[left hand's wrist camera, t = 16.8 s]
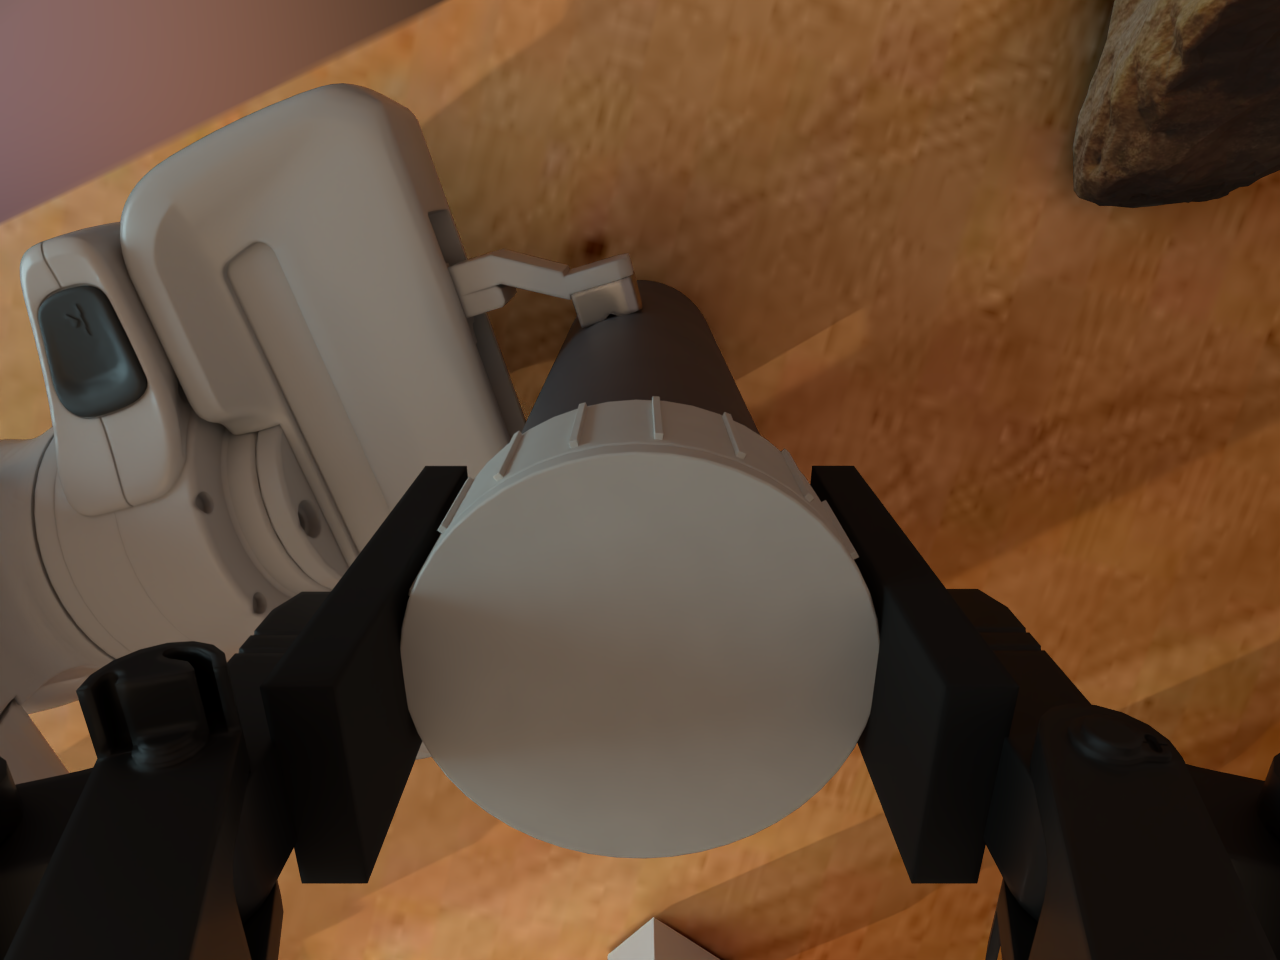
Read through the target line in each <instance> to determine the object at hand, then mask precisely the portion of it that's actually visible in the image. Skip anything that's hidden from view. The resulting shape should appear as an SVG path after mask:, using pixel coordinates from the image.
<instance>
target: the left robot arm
mask: <svg viewBox="0 0 1280 960" xmlns="http://www.w3.org/2000/svg"><path fill="white" fill-rule="evenodd" d="M467 479H468V473H467V466H425V467H424V468H423V470H422V471H421V472H420V474H419V475H418V476H417V478H416V479H415V480H414V482H413V483H412V484H411V486H410V487H409V488H408V490H407V491H406V492H405V494H404V495H403V496H402V498H401V499H400V500H399V502H398V503H397V504H396V506H395V507H394V508H393V510H392V511H391V512H390V514H389V515H388V516H387V518H386V519H385V520H384V522H383V523H382V524H381V526H380V527H379V528H378V530H377V531H376V532H375V534H374V535H373V536H372V538H371V539H370V540H369V542H368V543H367V544H366V546H365V547H364V548H363V550H362V551H361V552H360V554H359V555H358V556H357V558H356V559H355V560H354V562H353V563H352V564H351V566H350V567H349V568H348V570H347V571H346V572H345V574H344V575H343V576H342V578H341V579H340V580H339V582H338V583H337V584H336V586H335V587H334V588H333V590H332V591H331V592H300V593H299V594H297V595H295V596H294V597H292V598H291V599H289V600H287V601H286V602H284V603H282V604H281V605H279V606H278V607H276V608H274V609H273V610H272V611H271V612H270V613H269V614H268V615H267V617H266V618H265V619H264V620H263V621H262V622H261V624H260V625H259V626H258V627H257V628H256V629H255V631H254V635H250V636H249V638H248V639H247V640H246V641H245V642H244V643H243V645H242V646H241V647H240V648H239V653H235V654H234V655H233V656H232V657H231V659H230V660H229V661H228V662H227V661H226V656H225V653H224V652H223V651H221V650H220V649H219V648H217V647H216V646H215V645H213V644H207V643H202V642H196V641H186V642H170V643H165V644H160V645H156V646H152V647H148V648H144V649H140V650H137V651H135V652H132V653H130V654H128V655H125V656H123V657H120V658H118V659H115V660H113V661H111V662H110V663H108V664H107V665H105V666H103V667H102V668H100V669H99V670H97V671H96V672H94V673H92V674H91V675H90V676H89V677H88V678H87V679H86V680H85V681H84V682H83V683H82V684H81V686H80V687H79V688H78V689H77V690H76V693H77V696H78V699H79V702H80V705H81V708H82V712H83V715H84V718H85V721H86V724H87V727H88V730H89V733H90V736H91V740H92V743H93V746H94V749H95V752H96V755H97V758H98V759H97V761H96V763H95V765H94V767H93V768H90V769H86V770H82V771H78V772H73V773H68V774H63V775H59V776H54V777H49V778H44V779H39V780H35V781H30V782H25V783H20V784H16V785H15V783H14V780H13V778H12V775H11V772H10V770H9V767H8V764H7V762H6V760H5V759H3V758H2V757H0V960H278V954H279V946H280V937H281V928H282V920H283V906H282V899H281V894H280V889H279V885H278V881H277V879H278V877H279V875H280V873H281V871H282V869H283V867H284V865H285V863H286V861H287V859H288V858H289V856H290V854H291V852H292V850H293V848H294V849H295V854H296V858H297V863H298V867H299V872H300V877H301V881H302V883H368V881H369V878H370V875H371V873H372V870H373V868H374V865H375V863H376V860H377V857H378V855H379V852H380V850H381V847H382V844H383V842H384V839H385V837H386V834H387V832H388V829H389V826H390V824H391V821H392V819H393V816H394V813H395V811H396V808H397V806H398V803H399V801H400V798H401V795H402V793H403V790H404V788H405V785H406V782H407V780H408V777H409V775H410V772H411V769H412V767H413V764H414V762H415V759H416V757H417V754H418V751H419V749H420V746H421V744H422V739H421V738H420V736H419V734H418V732H417V730H416V727H415V725H414V722H413V720H412V717H411V715H410V712H409V710H408V704H407V697H406V691H405V684H404V676H403V668H402V660H401V651H400V640H401V627H402V623H403V619H404V615H405V611H406V607H407V602H408V599H409V597H410V596H408V593H409V589H410V587H411V586H412V584H413V582H414V580H415V578H416V577H417V575H418V573H419V571H420V570H421V568H422V566H423V564H424V563H425V561H426V559H427V557H428V555H429V554H430V552H431V550H432V548H433V547H434V545H435V543H436V541H437V539H438V538H439V536H440V534H442V533H440V532H439V531H438V528H439V527H440V525H441V523H442V521H443V520H444V518H445V516H446V514H447V513H448V511H449V509H450V508H451V506H452V504H453V502H454V501H455V499H456V497H457V495H458V494H459V492H460V490H461V488H462V487H463V485H464V483H465V482H466V480H467ZM811 487H812V488H813V490H814V491H815V493H816V494H817V496H818V498H819V499H820V501H821V502H823V501H825V500H826V501H827V503H828V504H829V506H830V508H831V509H832V511H833V513H834V515H835V516H836V518H837V520H838V521H839V523H840V525H841V526H842V528H843V530H844V532H845V533H846V535H847V537H848V538H849V540H850V542H851V543H852V545H853V547H854V549H855V550H856V552H857V554H858V556H859V558H857V559H854V561H855V563H856V564H857V566H858V568H859V570H860V572H861V575H862V577H863V579H864V581H865V583H866V585H867V588H868V590H869V592H870V595H871V598H872V602H873V605H874V609H875V612H876V616H877V619H878V627H879V635H880V643H879V653H878V660H877V668H876V676H875V683H874V691H873V698H872V705H871V711H870V715H869V718H868V721H867V724H866V726H865V728H864V730H863V732H862V734H861V736H860V738H859V740H858V742H857V743H858V746H859V748H860V751H861V754H862V756H863V759H864V761H865V764H866V766H867V769H868V772H869V774H870V777H871V779H872V782H873V785H874V787H875V790H876V792H877V795H878V797H879V800H880V803H881V805H882V808H883V810H884V813H885V816H886V818H887V821H888V823H889V826H890V828H891V831H892V834H893V836H894V839H895V841H896V844H897V847H898V849H899V852H900V854H901V857H902V859H903V862H904V865H905V867H906V870H907V872H908V875H909V878H910V880H911V883H977V882H978V877H979V873H980V868H981V863H982V859H983V854H984V850H985V845H986V846H987V848H988V849H989V851H990V853H991V855H992V857H993V859H994V861H995V863H996V865H997V867H998V869H999V871H1000V872H1001V874H1002V876H1003V881H1002V885H1001V889H1000V894H999V898H998V902H997V907H996V911H995V915H994V920H993V924H992V928H991V933H990V937H989V941H988V947H987V953H986V959H985V960H997V957H998V953H999V949H1000V946H1001V952H1002V960H1280V753H1279V754H1278V755H1276V756H1275V757H1274V758H1273V761H1272V764H1271V766H1270V769H1269V772H1268V774H1267V777H1266V780H1265V781H1262V780H1257V779H1252V778H1247V777H1243V776H1238V775H1233V774H1228V773H1223V772H1219V771H1214V770H1209V769H1204V768H1199V767H1195V766H1192V765H1188V764H1185V762H1184V760H1183V758H1182V756H1181V755H1180V754H1179V752H1178V751H1177V750H1176V748H1175V747H1174V746H1173V744H1172V743H1171V742H1170V741H1169V740H1168V739H1167V738H1165V737H1164V736H1163V735H1161V734H1160V733H1159V732H1157V731H1156V730H1155V729H1153V728H1152V727H1151V726H1149V725H1148V724H1146V723H1143V722H1141V721H1139V720H1137V719H1135V718H1133V717H1131V716H1129V715H1126V714H1124V713H1122V712H1119V711H1115V710H1111V709H1108V708H1104V707H1100V706H1097V705H1091V704H1090V702H1089V701H1088V700H1087V699H1086V698H1085V697H1084V696H1083V694H1082V693H1081V692H1080V691H1079V690H1078V689H1077V687H1076V686H1075V685H1074V684H1073V683H1072V682H1071V680H1070V679H1069V678H1068V677H1067V676H1066V675H1065V673H1064V672H1063V671H1062V670H1061V669H1060V668H1059V667H1058V665H1057V664H1056V663H1055V662H1054V661H1053V660H1052V658H1051V657H1050V656H1049V655H1048V654H1047V653H1046V651H1041V646H1040V644H1039V643H1038V642H1037V641H1036V640H1035V639H1034V638H1033V636H1032V635H1031V634H1030V633H1026V628H1025V627H1024V626H1023V625H1022V624H1021V622H1020V621H1019V620H1018V619H1017V618H1016V617H1015V616H1014V614H1013V613H1012V612H1011V611H1010V610H1009V609H1008V607H1006V606H1005V605H1003V604H1001V603H1000V602H998V601H996V600H995V599H993V598H991V597H990V596H988V595H987V594H985V593H983V592H982V591H980V590H978V589H946V588H945V587H944V585H943V584H942V583H941V581H940V580H939V579H938V577H937V576H936V575H935V573H934V572H933V571H932V569H931V568H930V567H929V565H928V564H927V563H926V561H925V560H924V559H923V557H922V556H921V555H920V553H919V552H918V551H917V549H916V548H915V547H914V545H913V544H912V543H911V541H910V540H909V539H908V537H907V536H906V535H905V534H904V532H903V531H902V530H901V528H900V527H899V526H898V524H897V523H896V522H895V520H894V519H893V518H892V516H891V515H890V514H889V512H888V511H887V510H886V508H885V507H884V506H883V504H882V503H881V502H880V500H879V499H878V498H877V496H876V495H875V494H874V492H873V491H872V490H871V488H870V487H869V486H868V484H867V483H866V482H865V480H864V479H863V478H862V476H861V475H860V474H859V472H858V471H857V470H856V468H855V467H854V466H812V474H811Z"/></svg>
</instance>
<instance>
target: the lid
mask: <svg viewBox="0 0 1280 960" xmlns="http://www.w3.org/2000/svg"><path fill="white" fill-rule="evenodd" d="M438 531H439V532H440V533H442V534H440V536H439V538H438V539H437V541H436V543H435V545H434V547H433V548H432V550H431V552H430V554H429V555H428V557H427V559H426V561H425V563H424V564H423V566H422V568H421V570H420V571H419V573H418V575H417V577H416V578H415V580H414V582H413V584H412V586H411V587H410V589H409V593H408V596H410V597H409V599H408V602H407V607H406V611H405V615H404V619H403V623H402V627H401V640H400V651H401V660H402V668H403V676H404V684H405V691H406V697H407V704H408V710H409V712H410V715H411V717H412V720H413V722H414V725H415V727H416V730H417V732H418V734H419V736H420V738H421V739H422V741H423V743H424V745H425V746H426V748H427V750H428V752H429V753H430V755H431V756H432V758H433V759H434V760H435V762H436V763H437V764H438V765H439V767H440V768H441V769H442V771H443V772H444V773H445V775H446V776H447V777H448V778H449V779H450V780H451V781H452V782H453V783H454V784H455V785H456V786H457V787H458V788H459V789H460V790H461V791H462V792H463V793H464V794H465V795H466V796H467V797H469V798H470V799H471V800H472V801H474V802H475V803H476V804H477V805H479V806H480V807H481V808H483V809H484V810H485V811H486V812H488V813H489V814H491V815H493V816H494V817H496V818H498V819H499V820H501V821H502V822H504V823H506V824H507V825H509V826H511V827H513V828H515V829H517V830H519V831H521V832H523V833H525V834H528V835H530V836H532V837H534V838H536V839H539V840H542V841H545V842H548V843H551V844H554V845H556V846H559V847H563V848H567V849H571V850H575V851H579V852H584V853H588V854H595V855H602V856H610V857H620V858H657V857H672V856H679V855H685V854H691V853H697V852H702V851H705V850H709V849H713V848H716V847H720V846H724V845H727V844H730V843H733V842H735V841H738V840H740V839H743V838H746V837H748V836H751V835H753V834H755V833H757V832H759V831H761V830H763V829H765V828H767V827H769V826H771V825H773V824H775V823H777V822H778V821H780V820H781V819H783V818H784V817H786V816H787V815H789V814H790V813H792V812H793V811H795V810H796V809H798V808H799V807H801V806H802V805H803V804H804V803H805V802H807V801H808V800H809V799H810V798H811V797H812V796H814V795H815V794H816V793H817V792H818V791H820V790H821V789H822V788H823V786H824V785H825V784H826V783H827V782H828V781H829V780H830V779H831V778H832V777H833V776H834V775H835V773H836V772H837V771H838V770H839V769H840V767H841V766H842V765H843V763H844V762H845V760H846V759H847V758H848V756H849V755H850V753H851V752H852V751H853V749H854V747H855V745H856V744H857V742H858V740H859V738H860V736H861V734H862V732H863V730H864V728H865V726H866V724H867V721H868V718H869V715H870V711H871V705H872V698H873V691H874V683H875V676H876V668H877V660H878V653H879V643H880V635H879V627H878V619H877V616H876V612H875V609H874V605H873V602H872V598H871V595H870V592H869V590H868V588H867V585H866V583H865V581H864V579H863V577H862V575H861V572H860V570H859V568H858V566H857V564H856V563H855V561H854V559H857V558H859V556H858V554H857V552H856V550H855V549H854V547H853V545H852V543H851V542H850V540H849V538H848V537H847V535H846V533H845V532H844V530H843V528H842V526H841V525H840V523H839V521H838V520H837V518H836V516H835V515H834V513H833V511H832V509H831V508H830V506H829V504H828V503H827V501H826V500H825V501H823V502H821V501H820V499H819V498H818V496H817V494H816V493H815V491H814V490H813V488H812V487H811V485H810V484H809V482H808V481H807V479H806V478H805V476H804V475H803V474H802V473H801V472H800V471H799V469H798V467H797V465H796V464H795V462H794V460H793V458H792V456H791V455H790V453H789V452H788V451H787V450H786V449H784V450H783V451H782V452H781V451H780V450H778V449H777V448H776V447H775V446H774V445H772V444H771V443H770V442H769V441H768V440H766V439H765V438H763V437H762V436H760V435H758V434H757V433H755V432H754V431H752V430H751V429H749V428H747V427H746V426H744V425H742V424H740V423H738V422H735V421H733V419H732V416H731V414H729V413H726V412H724V414H723V416H722V415H720V414H717V413H714V412H711V411H708V410H705V409H701V408H698V407H695V406H691V405H685V404H680V403H674V402H668V401H660V397H658V396H653V397H652V400H625V401H613V402H605V403H600V404H596V405H591V406H587V405H586V402H585V403H581V404H579V406H578V409H575V410H572V411H569V412H567V413H564V414H561V415H558V416H555V417H553V418H551V419H549V420H547V421H545V422H543V423H541V424H539V425H537V426H535V427H533V428H531V429H529V430H528V431H526V432H525V433H523V434H522V433H521V432H520V431H518V432H516V433H515V434H514V435H513V437H512V439H511V441H510V443H509V444H507V445H506V446H505V447H504V448H503V449H502V450H501V451H500V452H498V453H497V454H496V455H495V456H494V457H493V458H492V459H491V460H490V461H489V462H488V463H487V464H486V465H485V466H484V467H483V469H482V470H481V471H480V472H479V474H478V475H477V476H476V477H475V478H474V479H472V478H471V477H468V479H467V480H466V482H465V483H464V485H463V487H462V488H461V490H460V492H459V494H458V495H457V497H456V499H455V501H454V502H453V504H452V506H451V508H450V509H449V511H448V513H447V514H446V516H445V518H444V520H443V521H442V523H441V525H440V527H439V528H438Z"/></svg>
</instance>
